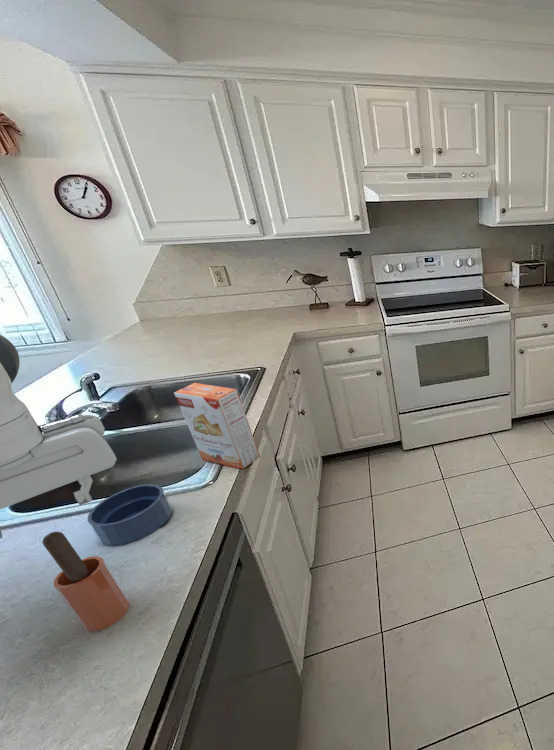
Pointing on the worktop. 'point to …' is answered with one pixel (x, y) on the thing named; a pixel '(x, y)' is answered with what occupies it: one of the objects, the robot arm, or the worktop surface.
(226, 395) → the cracker box
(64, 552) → the stick
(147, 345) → the worktop surface
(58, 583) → the crock
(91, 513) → the bowl
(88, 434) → the robot arm
